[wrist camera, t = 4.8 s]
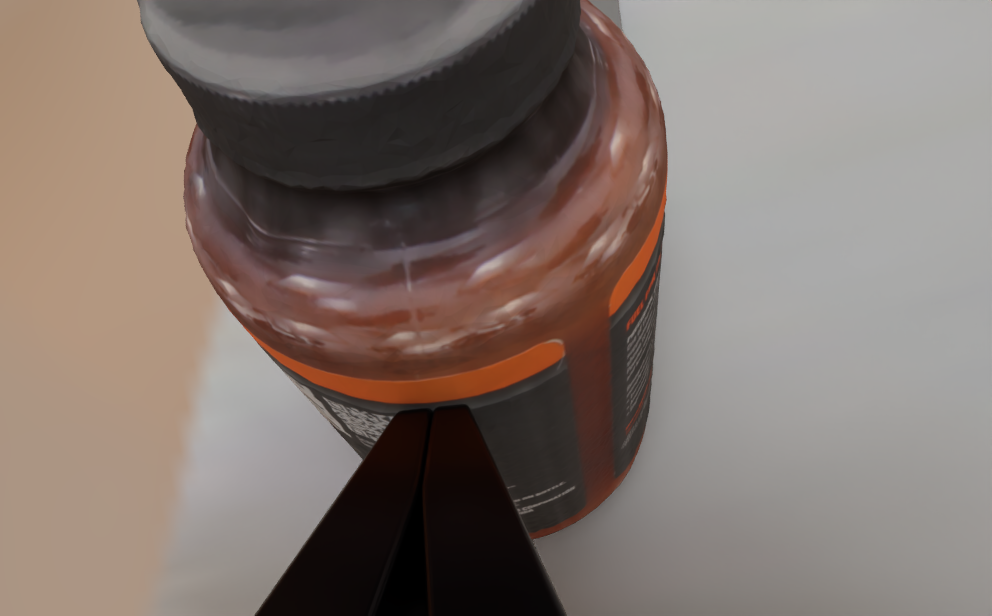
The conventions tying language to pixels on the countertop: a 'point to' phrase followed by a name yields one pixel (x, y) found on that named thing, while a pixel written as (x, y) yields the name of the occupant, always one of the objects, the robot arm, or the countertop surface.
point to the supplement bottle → (436, 217)
